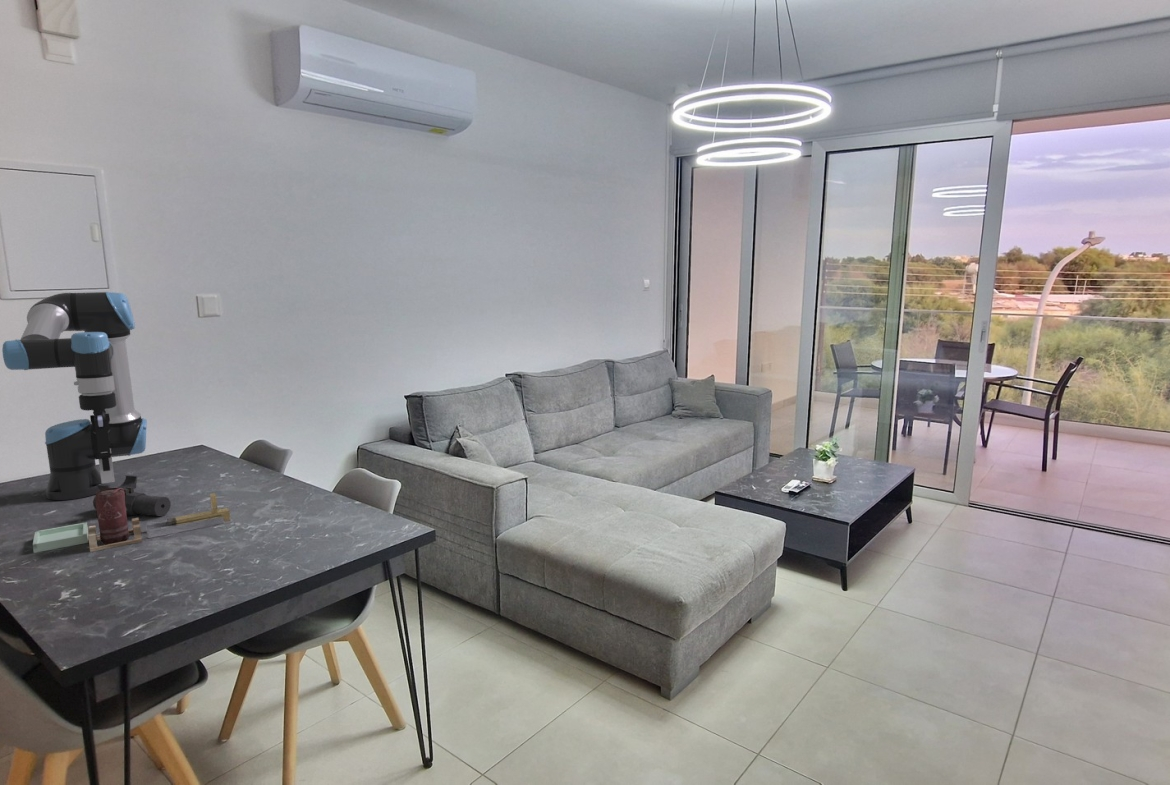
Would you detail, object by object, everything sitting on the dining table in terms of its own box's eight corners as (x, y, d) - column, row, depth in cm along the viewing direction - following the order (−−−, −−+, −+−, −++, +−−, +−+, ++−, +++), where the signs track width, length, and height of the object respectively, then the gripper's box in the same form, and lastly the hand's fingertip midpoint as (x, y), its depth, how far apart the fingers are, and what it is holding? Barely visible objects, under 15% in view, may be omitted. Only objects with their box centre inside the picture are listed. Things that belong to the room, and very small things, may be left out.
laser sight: (149, 522, 186) (145, 489, 185) (85, 516, 191) (80, 483, 189) (177, 510, 196) (173, 478, 194) (115, 505, 200) (111, 474, 199)
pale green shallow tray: (36, 539, 174) (35, 531, 173) (88, 529, 180) (87, 522, 180) (33, 552, 165) (32, 544, 165) (87, 542, 172) (86, 534, 171)
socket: (90, 539, 173) (88, 525, 173) (139, 530, 180) (138, 516, 179) (90, 552, 166) (88, 537, 165) (142, 541, 172) (140, 527, 172)
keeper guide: (146, 531, 179) (146, 524, 179) (220, 517, 190) (219, 510, 190) (148, 538, 175) (147, 531, 174) (223, 523, 185) (223, 516, 185)
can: (135, 538, 174) (129, 488, 172) (110, 547, 169) (103, 495, 166) (121, 534, 177) (115, 485, 174) (96, 543, 171) (89, 492, 169)
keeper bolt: (168, 528, 181) (164, 501, 180) (228, 517, 190) (225, 491, 188) (169, 532, 179) (165, 504, 177) (230, 520, 187) (227, 493, 186)
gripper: (78, 388, 172) (89, 470, 176) (77, 401, 155) (89, 491, 159) (113, 385, 177) (123, 465, 181) (116, 397, 159) (127, 485, 163)
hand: (107, 477), depth 170 cm, fingers open, 9 cm apart
